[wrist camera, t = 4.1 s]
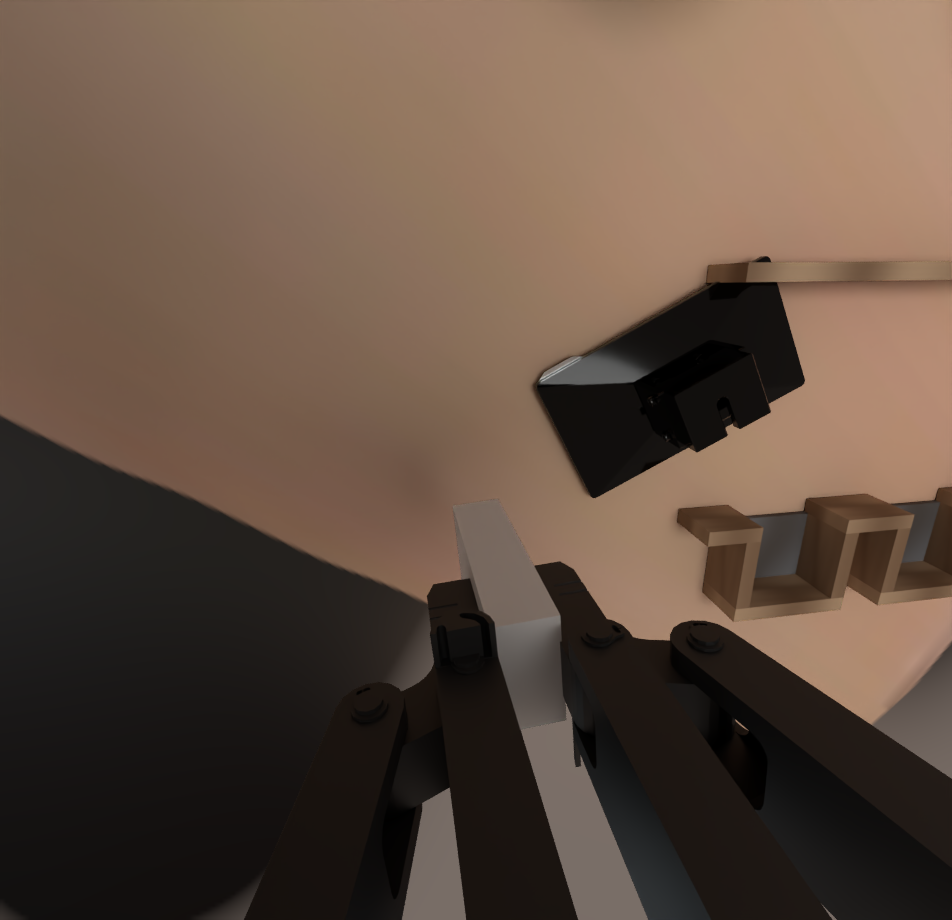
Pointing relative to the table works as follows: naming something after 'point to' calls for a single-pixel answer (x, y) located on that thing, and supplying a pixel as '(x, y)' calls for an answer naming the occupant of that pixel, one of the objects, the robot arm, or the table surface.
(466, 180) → the table surface
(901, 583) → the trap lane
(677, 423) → the black notched block
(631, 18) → the table surface
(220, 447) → the table surface
